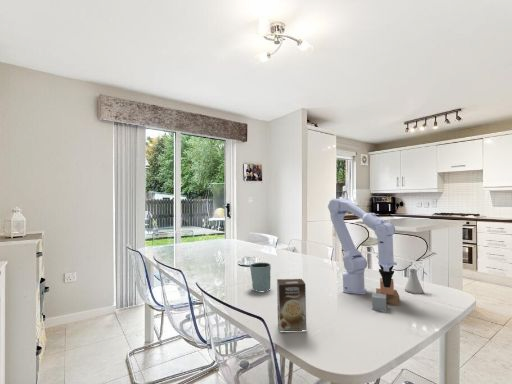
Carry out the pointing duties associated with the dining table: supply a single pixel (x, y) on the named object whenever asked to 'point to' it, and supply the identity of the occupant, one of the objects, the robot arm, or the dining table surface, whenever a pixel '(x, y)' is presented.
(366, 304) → the dining table surface
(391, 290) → the terracotta block
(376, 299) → the slate grey block
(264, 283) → the grey green cup
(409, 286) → the flask
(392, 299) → the walnut base block
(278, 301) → the coffee box
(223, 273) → the dining table surface
